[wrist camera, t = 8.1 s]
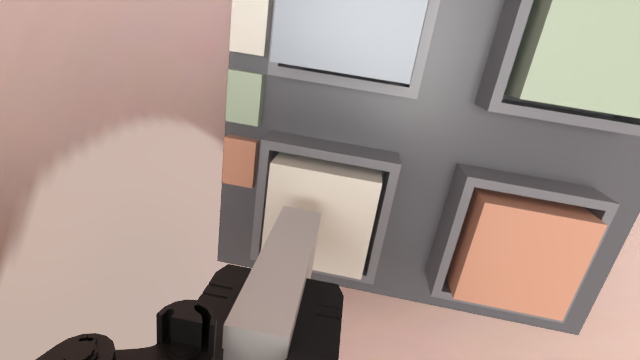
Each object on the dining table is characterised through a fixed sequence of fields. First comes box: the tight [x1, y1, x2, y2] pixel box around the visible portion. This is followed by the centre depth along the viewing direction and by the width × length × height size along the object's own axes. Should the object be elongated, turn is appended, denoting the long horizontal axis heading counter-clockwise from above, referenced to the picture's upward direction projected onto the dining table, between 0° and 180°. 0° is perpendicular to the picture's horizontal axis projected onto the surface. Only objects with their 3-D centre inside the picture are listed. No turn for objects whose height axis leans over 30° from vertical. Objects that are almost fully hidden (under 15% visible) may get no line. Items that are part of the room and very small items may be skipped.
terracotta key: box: [446, 187, 608, 321], centre depth 17 cm, size 5×5×2 cm
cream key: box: [261, 152, 382, 280], centre depth 17 cm, size 5×5×2 cm
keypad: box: [218, 0, 640, 335], centre depth 17 cm, size 20×19×3 cm
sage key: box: [504, 0, 640, 118], centre depth 14 cm, size 5×5×2 cm
